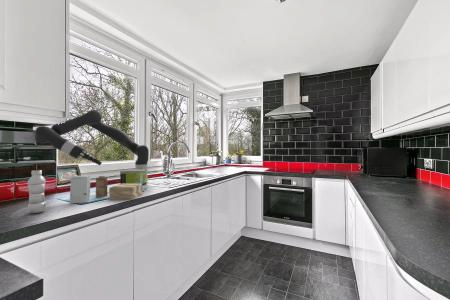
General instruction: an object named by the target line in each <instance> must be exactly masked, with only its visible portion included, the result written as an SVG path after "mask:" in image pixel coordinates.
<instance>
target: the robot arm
mask: <svg viewBox="0 0 450 300" xmlns="http://www.w3.org/2000/svg"><path fill="white" fill-rule="evenodd" d="M102 118H103V115H102V113H101V112H100V111H99V110H95V109H92V110H89V111H87V112H86V113H85V114H82V115H80V116H76V117H73V118H70V119H67V120H65V121H66V122H65V123H62V124H61V122H59V123H60V124H59V125H58V123H56V124H53V125H52V126H51V127H48V126H45V125H41V126H38V127H36V128H35V130H34V131H35V132H34V133H35V134H34V139H35V141H36V142H37V143H39V144H47V143H50V144H51V146H52V147H53V148H55V149H56V150H58V151H61V152H62V153H64V154H66V155H67V156H70V157H72V158H73V159H75V160H78V159H80V158H81V159H83V160H86V161H88V162H91V163H95V164H96V165H98V166H102V164H103V163H102V161H100V160H98V159H96V158H95V157H94V156H93V155H91V154H90V153H88V152H85V151H86V148H85V147H84V146H81V145H79V144H77V143H75V142H73V141H70V140H69V139H67V138H64V137H63V135H66V134H68V133H70V132H73V131H75V130H77V129H79V128H82V127H83V126H86V125H87V126H89V127H91V128H92V129H95V130H97V131H98V132H100V133H101V134H103V135H105V136H106V137H108V138H109V139H111V140H113V141H114V142H115V143H117V144H119V145H121V146H122V147H124V148H127V149H128V150H129V151H130V152H131V153H133V154H134V155H135V156H137V159H136V160H135V168H134V170H146V186H148V162H149V157H150V155H149V148H148V146H147V145H145V144H138V143H136V142H135V141H134V140H132V139H131V138H130V137H129V135H128V134H127V133H125V132H124V131H122V130H121V129H120V128H118V127H116V126H112V125H109V124H106V123H104V122H102Z"/></svg>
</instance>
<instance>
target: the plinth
mask: <svg viewBox="0 0 450 300" xmlns="http://www.w3.org/2000/svg"><path fill="white" fill-rule="evenodd" d="M108 189H109V190H108V191H109V192H108V193H109V195H108V198H109V200H134V199H136V198H138V197H140V196H142V195H143V190H142V184H140V183H122V184H120V183H119V184H116V185H113V186H110V187H109V188H108Z"/></svg>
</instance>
